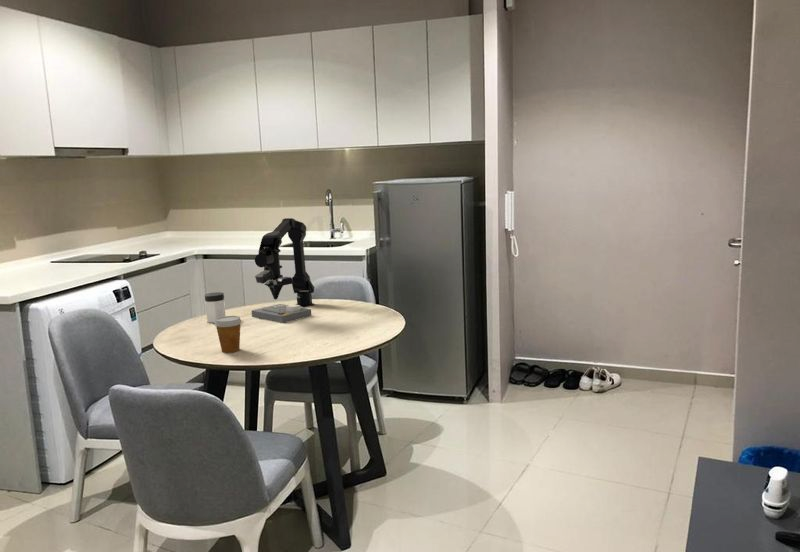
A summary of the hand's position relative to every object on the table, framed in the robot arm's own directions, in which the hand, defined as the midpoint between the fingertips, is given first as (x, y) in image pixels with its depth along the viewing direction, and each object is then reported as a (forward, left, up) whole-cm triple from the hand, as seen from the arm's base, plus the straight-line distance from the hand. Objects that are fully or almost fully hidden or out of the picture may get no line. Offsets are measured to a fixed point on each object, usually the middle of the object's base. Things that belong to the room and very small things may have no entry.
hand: (275, 299), depth 285 cm
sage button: (-8, -8, -8) cm, 14 cm away
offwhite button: (-8, +2, -7) cm, 10 cm away
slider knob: (0, +3, -6) cm, 6 cm away
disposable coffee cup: (+40, +25, -9) cm, 48 cm away
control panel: (-5, -3, -9) cm, 11 cm away
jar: (+16, -22, -9) cm, 29 cm away
